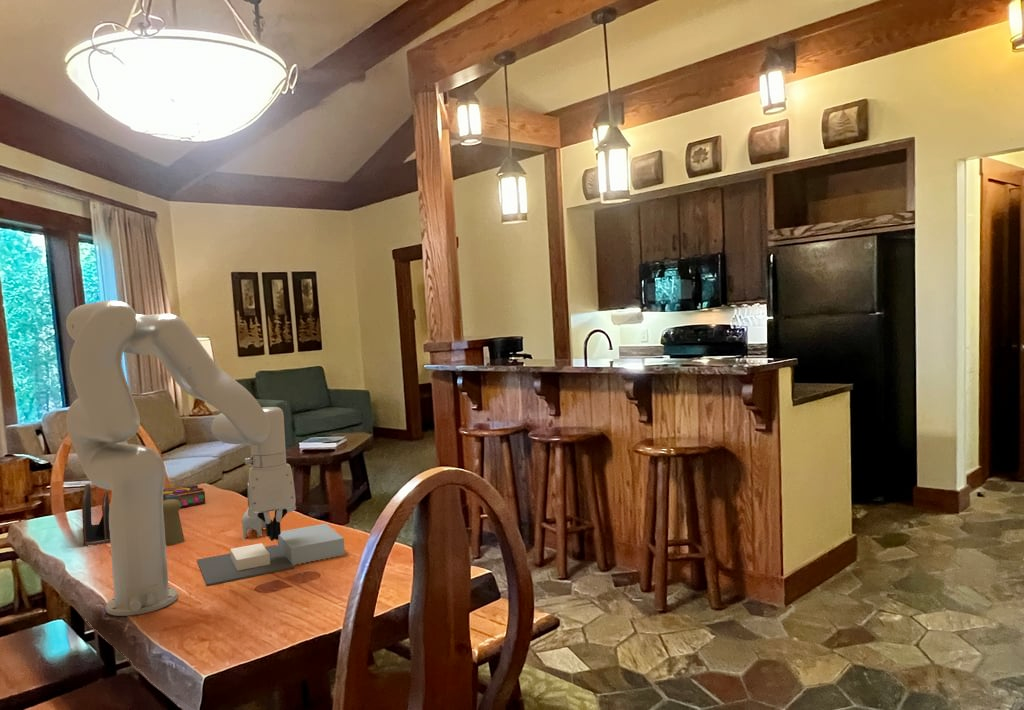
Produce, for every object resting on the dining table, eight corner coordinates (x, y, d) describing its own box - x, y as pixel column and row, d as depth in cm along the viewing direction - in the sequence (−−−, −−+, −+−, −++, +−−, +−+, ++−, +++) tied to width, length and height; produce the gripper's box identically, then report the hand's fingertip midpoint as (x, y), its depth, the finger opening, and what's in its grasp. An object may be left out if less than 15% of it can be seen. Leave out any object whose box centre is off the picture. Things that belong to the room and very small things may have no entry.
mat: (294, 568, 157) (294, 566, 157) (206, 586, 148) (206, 584, 148) (276, 546, 174) (276, 544, 174) (197, 561, 166) (196, 559, 166)
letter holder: (83, 547, 183) (79, 493, 182) (89, 530, 200) (85, 480, 200) (127, 540, 187) (123, 488, 187) (129, 524, 205) (125, 475, 204)
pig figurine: (271, 524, 195) (269, 486, 195) (262, 537, 183) (259, 497, 182) (251, 526, 195) (249, 488, 194) (241, 539, 182) (238, 498, 182)
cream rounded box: (236, 560, 156) (237, 570, 156) (269, 553, 159) (270, 564, 159) (230, 548, 165) (231, 559, 165) (261, 543, 168) (262, 553, 168)
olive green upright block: (156, 546, 179) (153, 504, 179) (161, 540, 185) (158, 498, 185) (182, 543, 181) (179, 501, 180) (186, 537, 187) (183, 496, 186)
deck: (344, 555, 165) (343, 538, 165) (292, 565, 159) (291, 548, 159) (326, 539, 179) (325, 523, 178) (277, 548, 173) (276, 532, 173)
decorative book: (194, 497, 237) (193, 482, 237) (207, 505, 224) (206, 489, 224) (157, 503, 230) (156, 488, 230) (168, 512, 217) (167, 496, 217)
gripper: (237, 467, 157) (242, 548, 158) (305, 458, 164) (309, 536, 165) (232, 462, 164) (237, 540, 164) (298, 454, 171) (302, 529, 171)
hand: (273, 538), depth 164 cm, fingers closed
